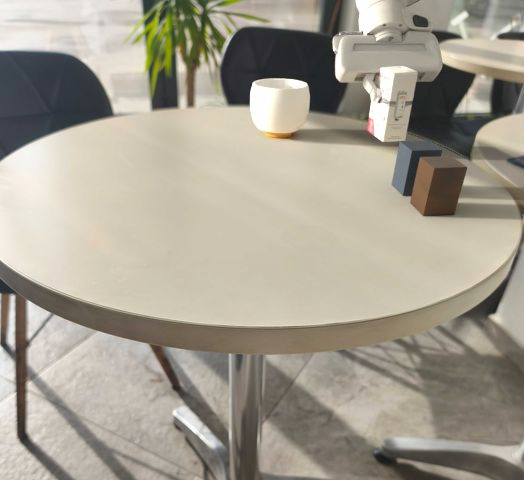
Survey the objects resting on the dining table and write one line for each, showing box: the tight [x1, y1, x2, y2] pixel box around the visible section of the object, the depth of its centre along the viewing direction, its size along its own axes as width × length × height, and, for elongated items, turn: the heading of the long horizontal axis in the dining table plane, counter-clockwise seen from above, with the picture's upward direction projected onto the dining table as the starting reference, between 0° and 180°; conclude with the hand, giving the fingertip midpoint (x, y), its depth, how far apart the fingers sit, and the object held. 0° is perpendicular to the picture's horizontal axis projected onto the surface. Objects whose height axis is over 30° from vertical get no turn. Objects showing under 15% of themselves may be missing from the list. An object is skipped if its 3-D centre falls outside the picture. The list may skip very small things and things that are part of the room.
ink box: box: [366, 66, 418, 143], centre depth 94 cm, size 9×5×12 cm, turn 12°
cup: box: [249, 77, 311, 139], centre depth 102 cm, size 12×12×10 cm
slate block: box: [391, 140, 443, 197], centre depth 79 cm, size 5×5×7 cm
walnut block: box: [409, 155, 468, 217], centre depth 73 cm, size 5×5×7 cm
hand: (392, 99), depth 93 cm, fingers closed on ink box, 5 cm apart
